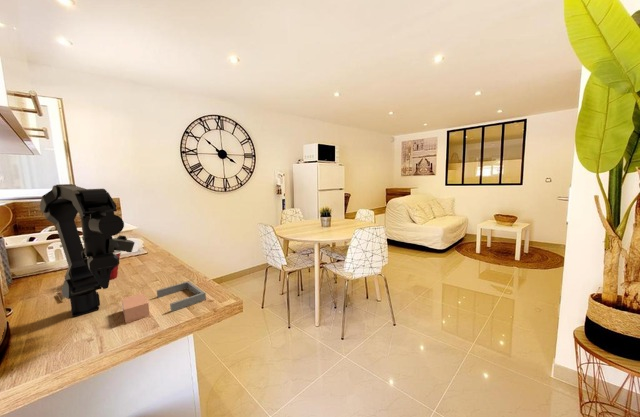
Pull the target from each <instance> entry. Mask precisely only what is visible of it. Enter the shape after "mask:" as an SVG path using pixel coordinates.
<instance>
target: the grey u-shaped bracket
mask: <svg viewBox="0 0 640 417" xmlns="http://www.w3.org/2000/svg"><path fill="white" fill-rule="evenodd" d="M187 288H188V289H187ZM184 290H188V291H189V292H191V293H193V295H191V296H189V297H186V298H183V299H180V300H176V301H173V302H171V303H169V307H170V312H171V313H172V312H175V311H176V312H177V311H178V310H180V309H184V308H186V307H189V306H192V305H195V304H197V303H200V302H201V303H202V302H204V301H206V300H207V295H206V292H205V291H204V290H202V289H201V288H199V287H197V286H196V285H195V284H193V283H192V282H191V281H189V280H188V281H184V282H181V283H178V284H173V285H169V286H167V287H164V288H160V289H156V297H157V298H161V297H165V296H168V295H171V294H174V293H178V292H181V291H184ZM203 300H204V301H203Z"/></svg>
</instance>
